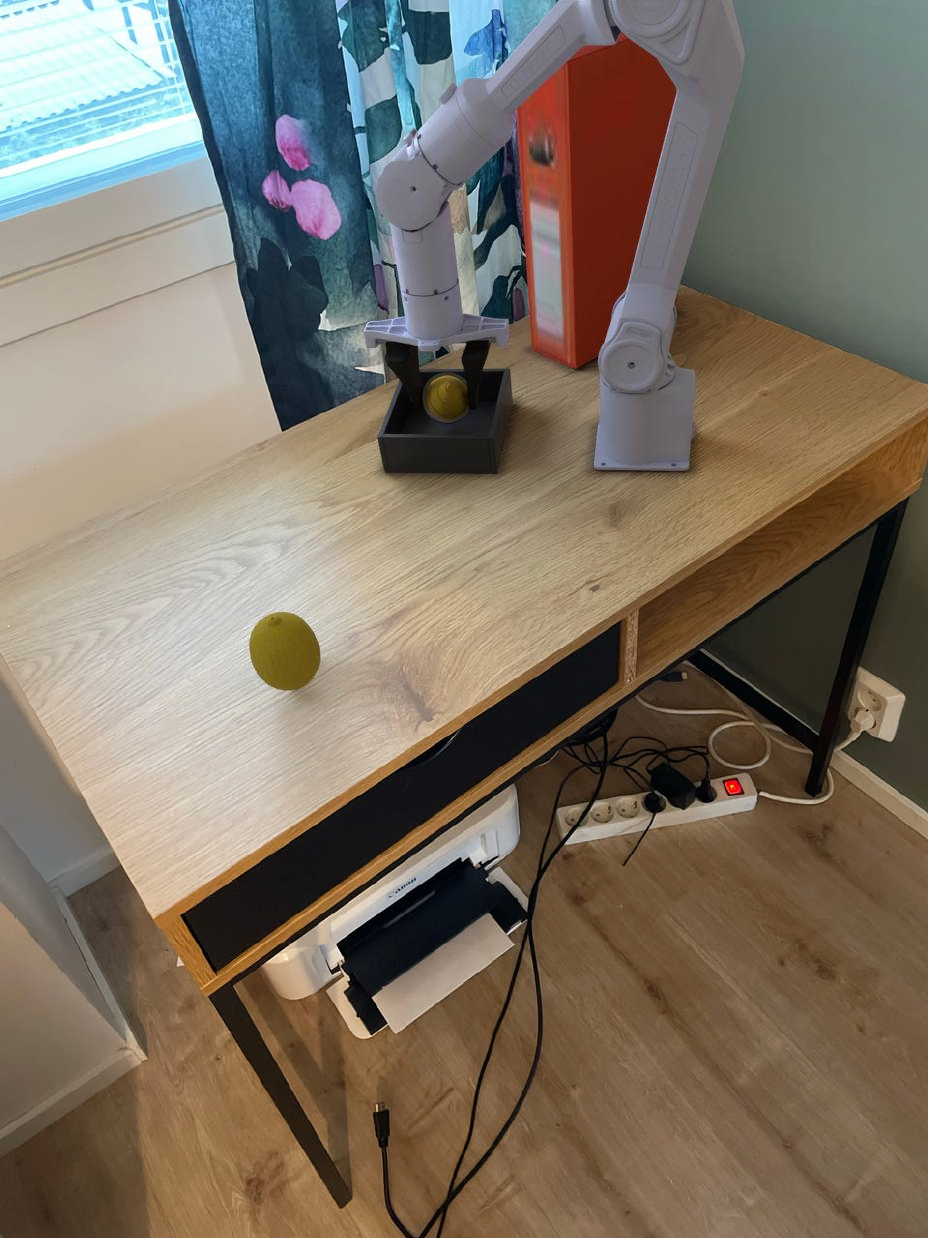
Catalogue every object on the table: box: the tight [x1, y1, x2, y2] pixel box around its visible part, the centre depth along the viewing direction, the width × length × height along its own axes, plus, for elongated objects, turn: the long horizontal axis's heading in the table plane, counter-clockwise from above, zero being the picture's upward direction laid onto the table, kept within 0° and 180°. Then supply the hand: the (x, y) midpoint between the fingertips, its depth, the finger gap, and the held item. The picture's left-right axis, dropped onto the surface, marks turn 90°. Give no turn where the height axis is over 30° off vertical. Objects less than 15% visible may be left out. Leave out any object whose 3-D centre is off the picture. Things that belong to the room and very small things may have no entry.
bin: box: [376, 367, 514, 475], centre depth 97 cm, size 12×13×4 cm
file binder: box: [515, 32, 678, 370], centre depth 100 cm, size 8×17×32 cm, turn 129°
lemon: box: [248, 611, 321, 692], centre depth 73 cm, size 6×6×8 cm
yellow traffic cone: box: [422, 372, 469, 424], centre depth 94 cm, size 5×5×10 cm
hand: (446, 404), depth 96 cm, fingers closed on yellow traffic cone, 5 cm apart
